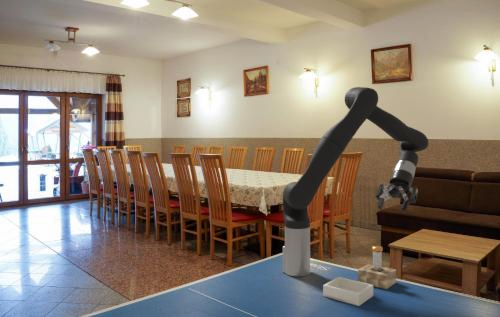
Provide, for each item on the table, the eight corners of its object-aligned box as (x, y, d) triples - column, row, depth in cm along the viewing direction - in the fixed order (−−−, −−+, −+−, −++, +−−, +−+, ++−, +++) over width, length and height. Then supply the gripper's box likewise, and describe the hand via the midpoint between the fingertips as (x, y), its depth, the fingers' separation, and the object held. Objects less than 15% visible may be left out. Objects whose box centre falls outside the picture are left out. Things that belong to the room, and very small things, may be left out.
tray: (323, 296, 130) (323, 285, 130) (338, 287, 138) (338, 276, 138) (358, 306, 123) (358, 294, 122) (373, 295, 130) (373, 284, 130)
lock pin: (370, 282, 142) (370, 247, 141) (374, 280, 144) (374, 245, 144) (379, 285, 140) (380, 249, 139) (383, 282, 142) (384, 246, 141)
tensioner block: (358, 282, 142) (358, 269, 142) (368, 276, 148) (368, 263, 148) (386, 289, 136) (386, 275, 135) (396, 282, 142) (396, 269, 141)
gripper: (381, 167, 160) (369, 201, 152) (420, 169, 151) (408, 205, 143) (387, 180, 164) (375, 213, 156) (424, 182, 155) (413, 218, 147)
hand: (391, 209), depth 149 cm, fingers open, 8 cm apart
